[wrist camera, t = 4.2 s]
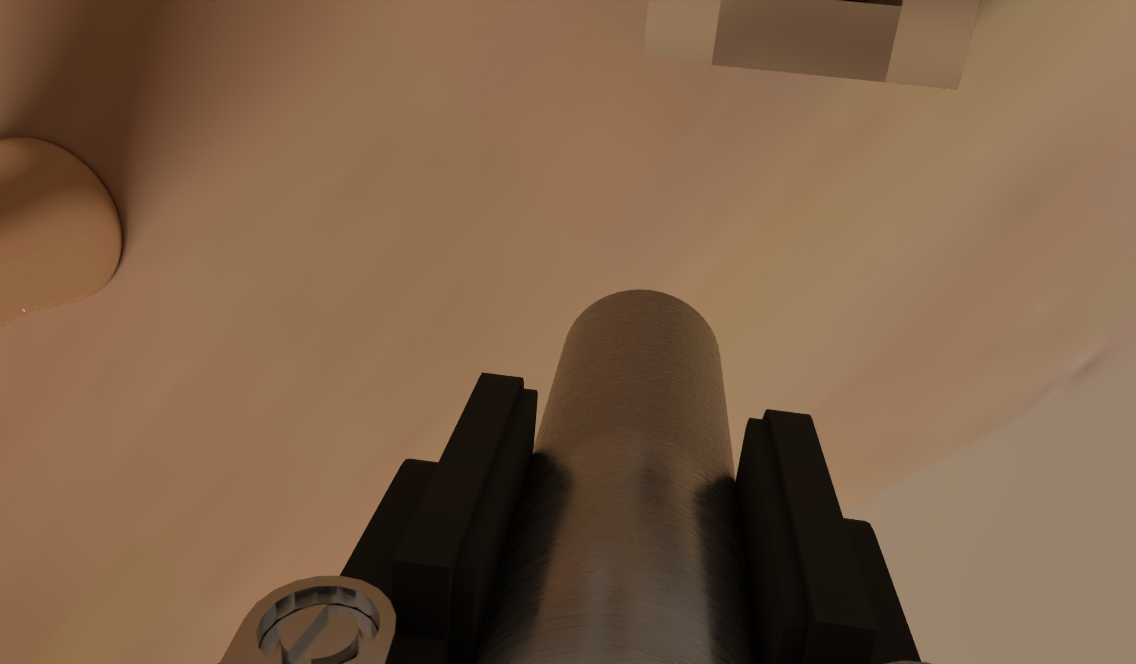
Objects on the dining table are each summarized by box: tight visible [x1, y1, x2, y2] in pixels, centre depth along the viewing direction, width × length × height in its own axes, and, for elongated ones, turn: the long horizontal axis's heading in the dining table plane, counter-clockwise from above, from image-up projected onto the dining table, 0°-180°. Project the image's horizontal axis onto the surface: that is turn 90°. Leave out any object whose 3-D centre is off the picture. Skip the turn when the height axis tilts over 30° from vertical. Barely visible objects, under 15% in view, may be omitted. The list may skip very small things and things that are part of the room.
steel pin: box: [472, 290, 758, 664], centre depth 9 cm, size 3×3×13 cm
